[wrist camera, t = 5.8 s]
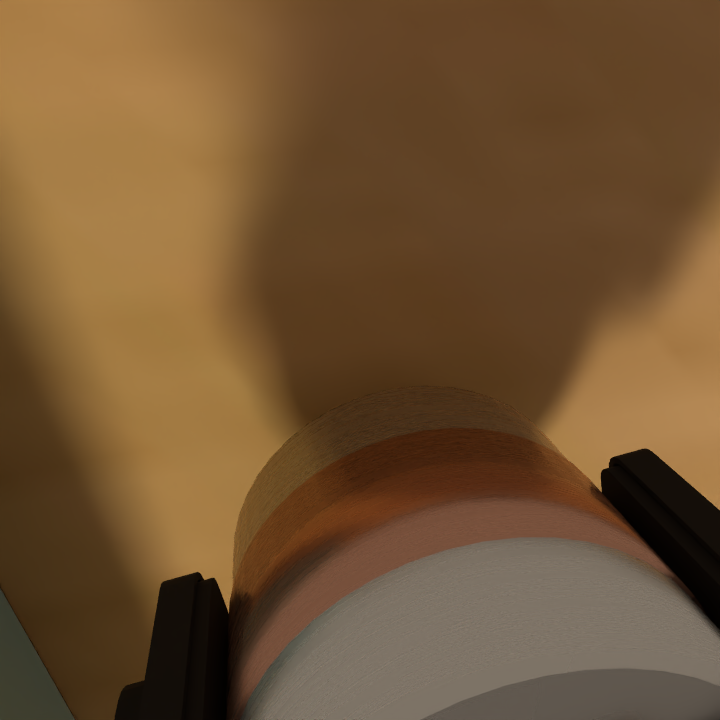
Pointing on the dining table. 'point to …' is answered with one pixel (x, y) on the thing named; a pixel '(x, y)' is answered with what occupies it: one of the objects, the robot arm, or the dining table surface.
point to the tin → (452, 579)
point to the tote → (25, 675)
